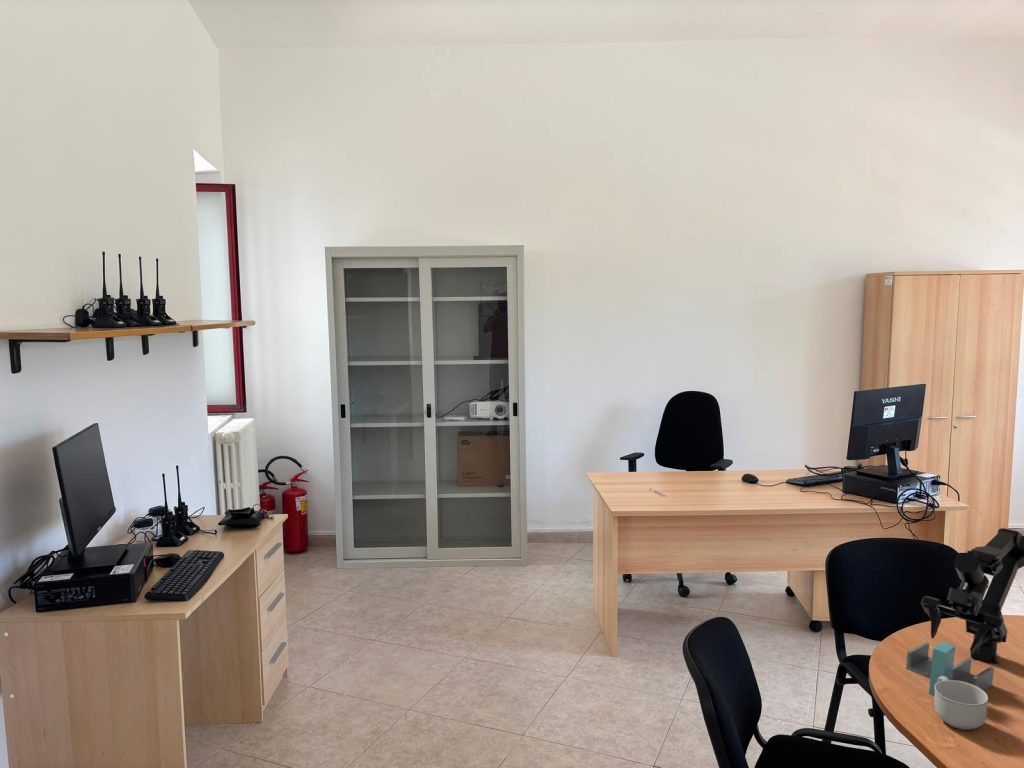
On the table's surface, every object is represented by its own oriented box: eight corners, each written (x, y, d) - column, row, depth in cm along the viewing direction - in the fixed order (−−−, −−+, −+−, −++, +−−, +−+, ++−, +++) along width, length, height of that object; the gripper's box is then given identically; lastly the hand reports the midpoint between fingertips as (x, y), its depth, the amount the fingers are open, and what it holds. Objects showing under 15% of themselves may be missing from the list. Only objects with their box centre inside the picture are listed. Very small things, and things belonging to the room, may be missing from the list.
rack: (924, 658, 205) (926, 642, 205) (992, 685, 191) (993, 667, 191) (906, 668, 200) (907, 651, 199) (974, 696, 186) (975, 678, 185)
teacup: (993, 738, 168) (996, 705, 167) (941, 732, 170) (944, 700, 169) (968, 705, 182) (971, 675, 181) (920, 700, 184) (923, 670, 183)
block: (938, 685, 191) (942, 641, 189) (951, 690, 189) (955, 646, 187) (929, 693, 187) (932, 648, 186) (941, 698, 185) (945, 653, 183)
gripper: (926, 566, 198) (905, 616, 192) (1006, 588, 184) (986, 642, 178) (935, 587, 204) (915, 636, 198) (1014, 610, 190) (994, 664, 184)
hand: (951, 644), depth 190 cm, fingers open, 9 cm apart
